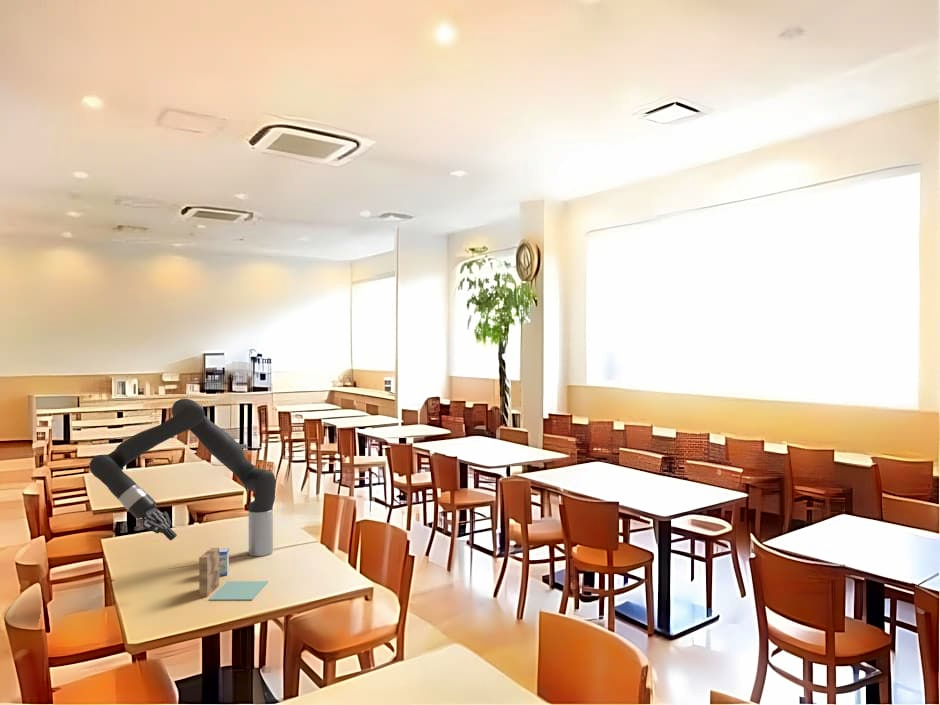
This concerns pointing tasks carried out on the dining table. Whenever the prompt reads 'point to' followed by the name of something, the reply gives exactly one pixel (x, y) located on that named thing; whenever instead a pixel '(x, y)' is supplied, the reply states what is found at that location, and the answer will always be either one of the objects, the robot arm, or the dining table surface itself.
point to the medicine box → (223, 561)
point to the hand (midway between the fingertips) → (174, 538)
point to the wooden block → (208, 572)
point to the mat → (238, 590)
